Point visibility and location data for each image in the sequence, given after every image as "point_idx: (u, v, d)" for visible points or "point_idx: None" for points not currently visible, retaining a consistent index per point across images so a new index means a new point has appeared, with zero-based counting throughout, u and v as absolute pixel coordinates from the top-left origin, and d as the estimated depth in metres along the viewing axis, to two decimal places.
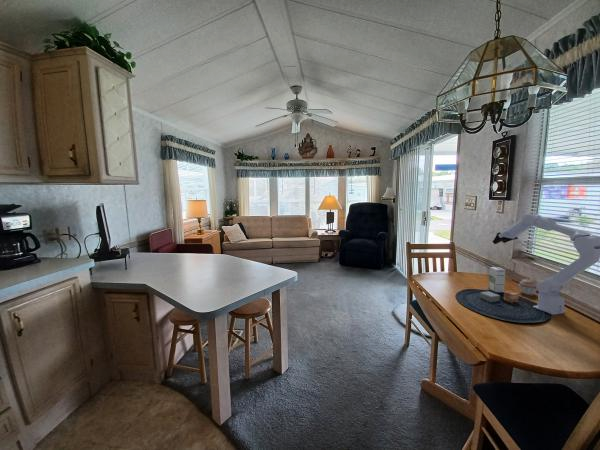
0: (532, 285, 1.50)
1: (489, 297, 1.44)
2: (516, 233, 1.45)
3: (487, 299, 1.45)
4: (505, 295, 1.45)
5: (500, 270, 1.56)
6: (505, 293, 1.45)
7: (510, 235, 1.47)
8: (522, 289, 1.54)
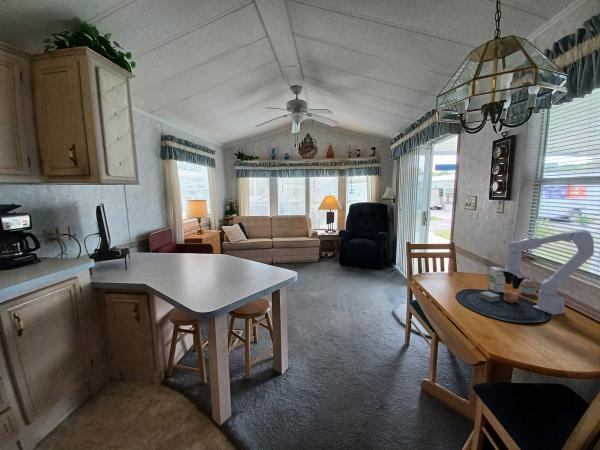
0: (532, 285, 1.50)
1: (489, 297, 1.44)
2: (520, 265, 1.40)
3: (487, 299, 1.45)
4: (505, 295, 1.45)
5: (500, 270, 1.56)
6: (505, 293, 1.45)
7: (519, 270, 1.40)
8: (522, 289, 1.54)
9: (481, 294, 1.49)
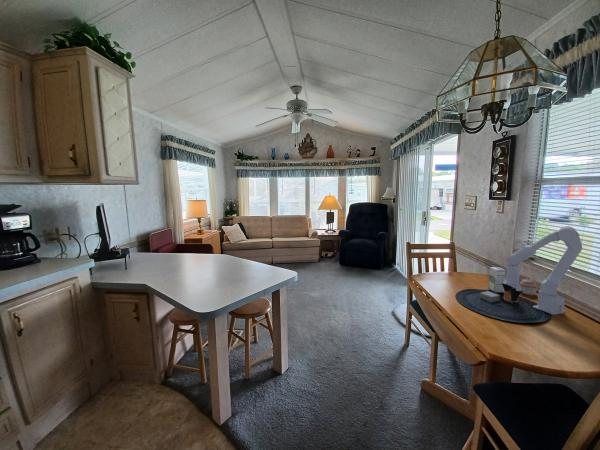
0: (532, 285, 1.50)
1: (490, 297, 1.44)
2: None
3: (488, 299, 1.45)
4: (505, 295, 1.45)
5: (500, 270, 1.56)
6: (505, 293, 1.45)
7: (517, 283, 1.41)
8: (522, 289, 1.54)
9: (481, 294, 1.48)
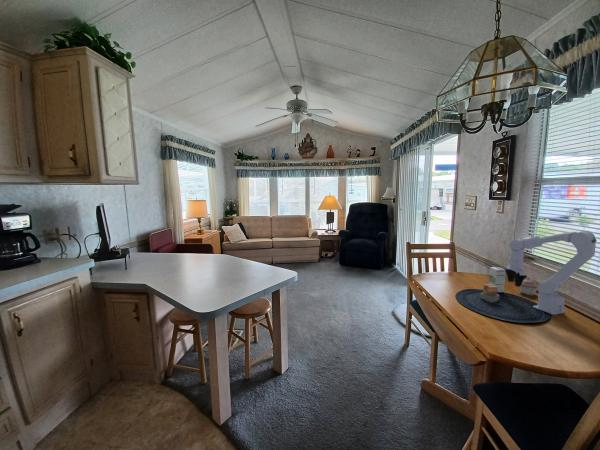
0: (532, 285, 1.50)
1: (491, 297, 1.43)
2: (522, 263, 1.41)
3: (488, 300, 1.45)
4: (484, 288, 1.48)
5: (500, 270, 1.56)
6: (484, 286, 1.48)
7: (521, 268, 1.41)
8: (522, 289, 1.54)
9: (481, 295, 1.48)
